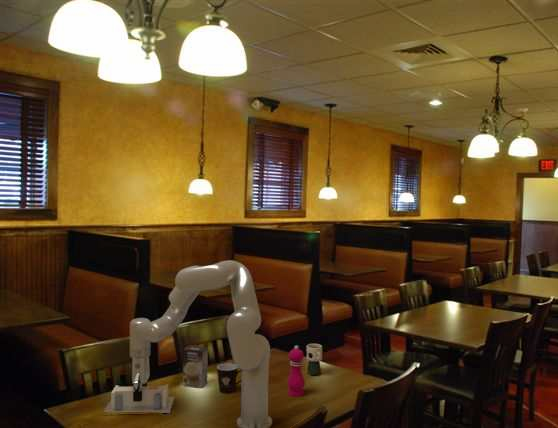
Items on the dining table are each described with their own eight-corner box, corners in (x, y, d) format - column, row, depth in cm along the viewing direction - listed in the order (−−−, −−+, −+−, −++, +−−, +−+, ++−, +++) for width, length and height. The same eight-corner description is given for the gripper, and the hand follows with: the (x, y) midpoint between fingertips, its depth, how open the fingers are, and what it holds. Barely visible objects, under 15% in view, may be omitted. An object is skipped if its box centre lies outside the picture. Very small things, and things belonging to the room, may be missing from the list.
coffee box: (182, 386, 211) (182, 348, 210) (188, 381, 217) (188, 344, 217) (202, 388, 209) (202, 351, 208) (208, 383, 215) (208, 346, 214)
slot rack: (170, 413, 184) (170, 396, 184) (103, 415, 182) (103, 398, 182) (174, 400, 196) (174, 384, 196) (111, 402, 194) (111, 385, 194)
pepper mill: (303, 397, 200) (303, 348, 200) (285, 396, 202) (286, 347, 201) (305, 390, 207) (306, 343, 207) (288, 389, 209) (289, 342, 208)
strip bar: (165, 407, 187) (165, 389, 186) (111, 408, 185) (111, 391, 185) (168, 399, 194) (168, 382, 193) (115, 400, 192) (115, 383, 192)
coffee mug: (212, 392, 205) (212, 368, 205) (224, 385, 213) (224, 362, 212) (236, 397, 200) (236, 373, 199) (247, 390, 207) (247, 366, 207)
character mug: (301, 371, 231) (302, 343, 230) (315, 369, 234) (315, 341, 233) (312, 379, 221) (313, 350, 220) (326, 376, 224) (327, 348, 223)
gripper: (146, 358, 180) (146, 405, 181) (154, 344, 197) (154, 386, 198) (125, 359, 180) (125, 405, 180) (134, 344, 197) (134, 387, 197)
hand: (140, 395), depth 189 cm, fingers open, 9 cm apart
